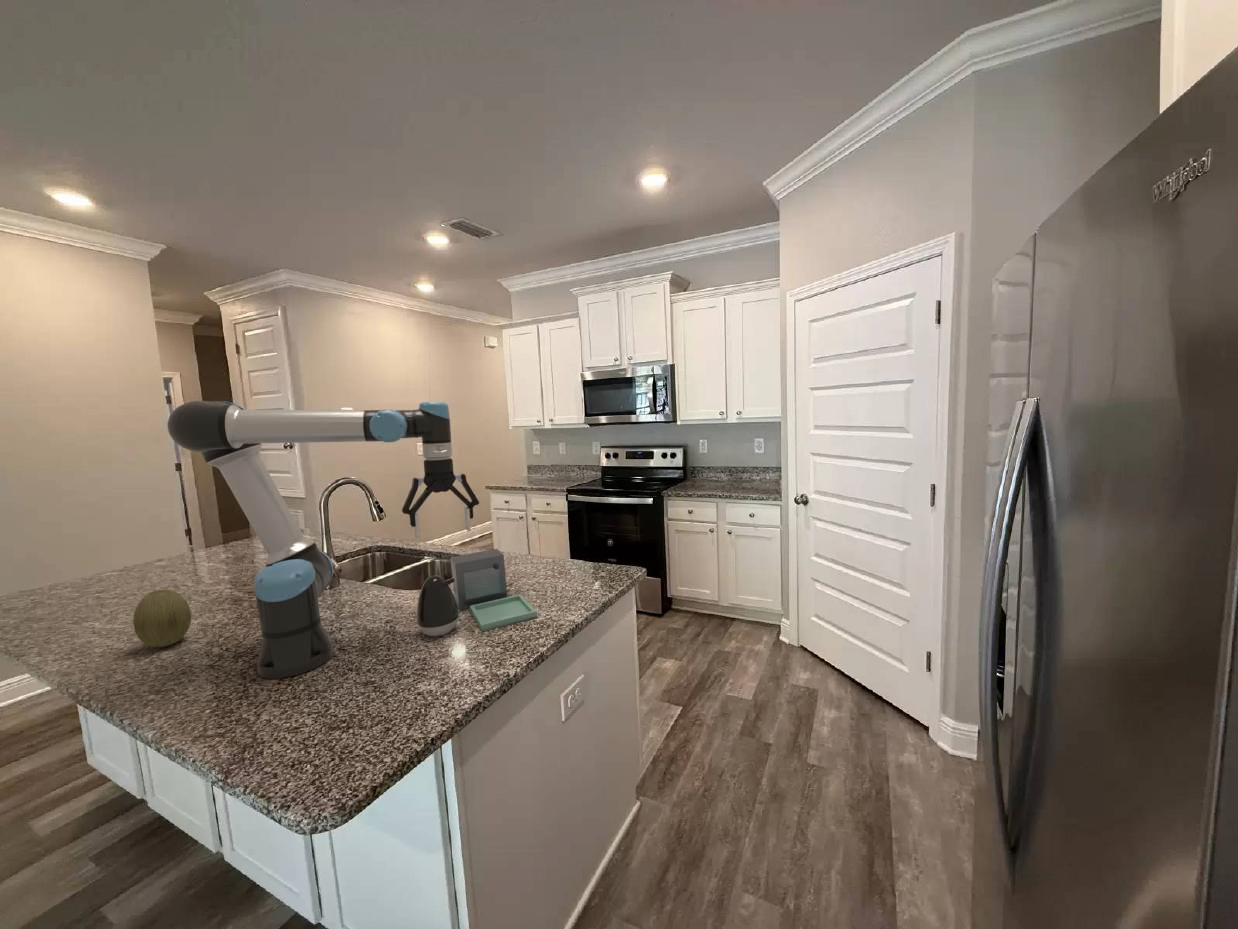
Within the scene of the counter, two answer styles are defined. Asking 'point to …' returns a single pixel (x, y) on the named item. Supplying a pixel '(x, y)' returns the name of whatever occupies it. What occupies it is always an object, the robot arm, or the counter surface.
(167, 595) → the fruit
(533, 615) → the tray
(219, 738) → the counter surface
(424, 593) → the pump dispenser
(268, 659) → the robot arm
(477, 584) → the unit
